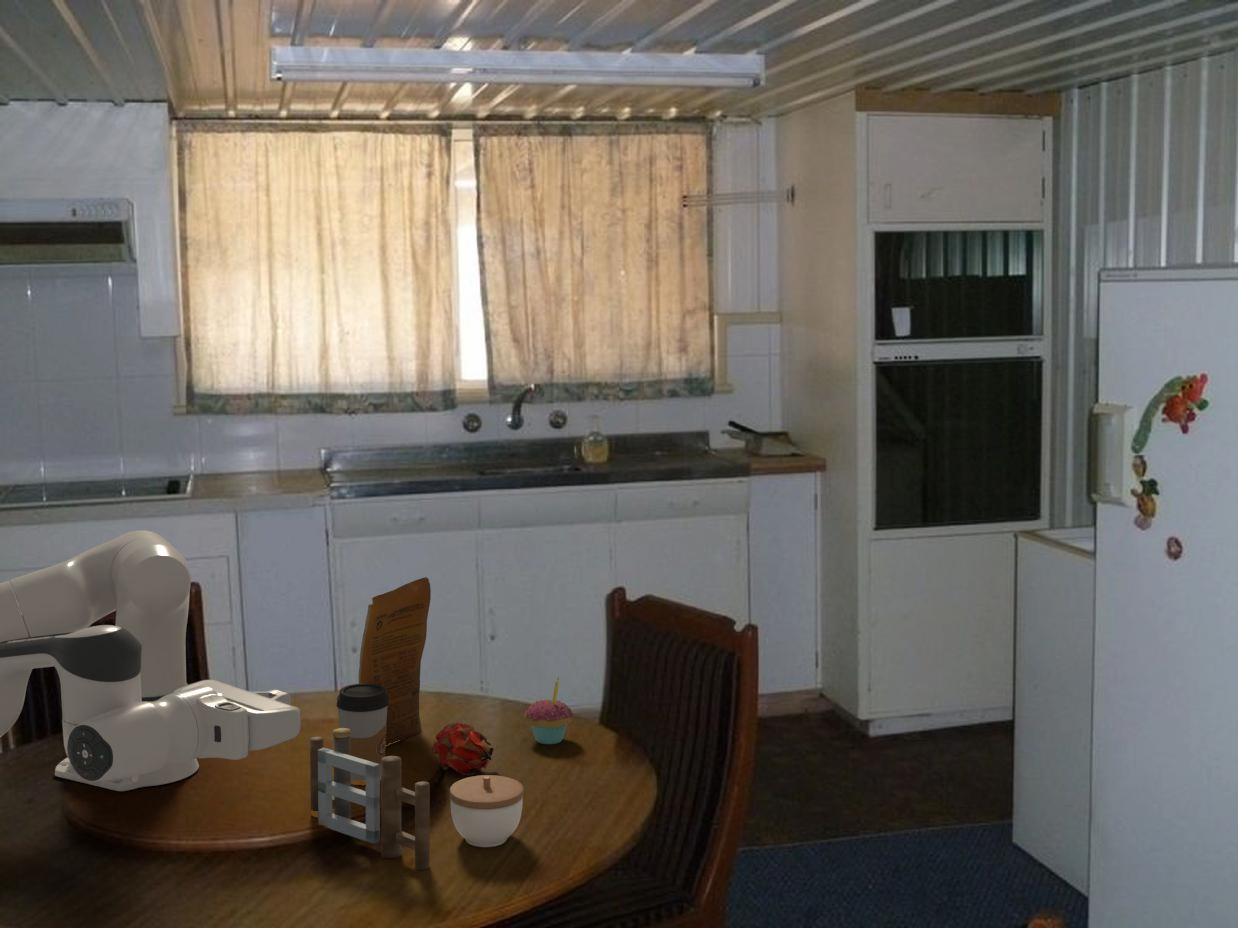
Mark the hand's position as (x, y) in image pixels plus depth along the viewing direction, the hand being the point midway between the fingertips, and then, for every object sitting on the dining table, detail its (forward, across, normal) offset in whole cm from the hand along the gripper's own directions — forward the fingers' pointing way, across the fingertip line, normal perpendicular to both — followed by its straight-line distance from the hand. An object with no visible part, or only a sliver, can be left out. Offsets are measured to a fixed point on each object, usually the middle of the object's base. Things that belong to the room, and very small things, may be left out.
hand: (284, 696), depth 187 cm
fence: (+12, +3, -24) cm, 27 cm away
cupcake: (+61, -5, -24) cm, 66 cm away
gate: (+10, +1, -23) cm, 25 cm away
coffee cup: (+27, -15, -24) cm, 39 cm away
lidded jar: (+24, +16, -24) cm, 37 cm away
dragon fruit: (+41, -6, -24) cm, 48 cm away
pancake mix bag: (+44, -26, -24) cm, 56 cm away
